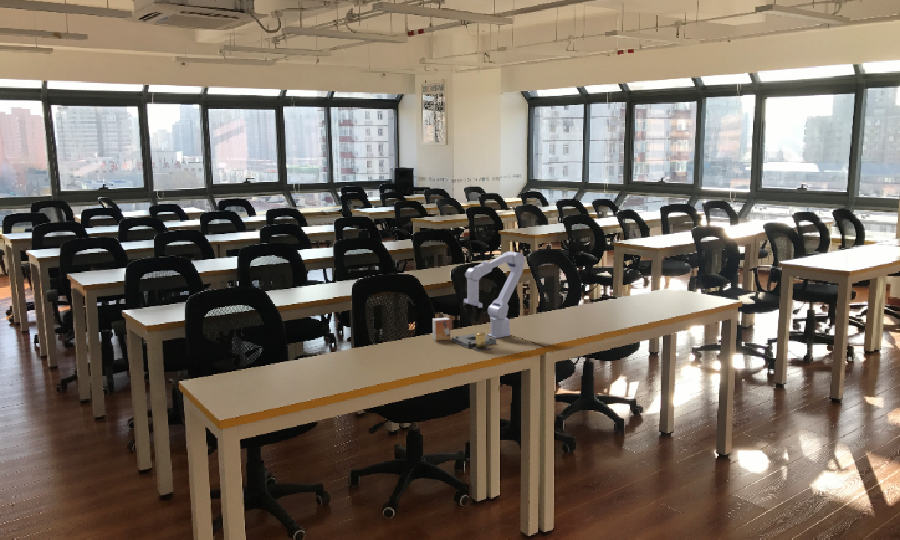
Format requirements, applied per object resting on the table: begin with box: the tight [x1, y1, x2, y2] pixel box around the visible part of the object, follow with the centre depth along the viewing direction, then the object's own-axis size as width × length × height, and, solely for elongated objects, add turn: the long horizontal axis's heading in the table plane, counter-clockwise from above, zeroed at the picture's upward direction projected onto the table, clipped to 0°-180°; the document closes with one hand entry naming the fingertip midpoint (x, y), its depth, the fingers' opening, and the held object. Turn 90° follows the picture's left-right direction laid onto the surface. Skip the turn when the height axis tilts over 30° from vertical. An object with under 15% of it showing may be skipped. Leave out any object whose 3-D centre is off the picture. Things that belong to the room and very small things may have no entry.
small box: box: [432, 316, 452, 342], centre depth 357 cm, size 8×6×10 cm
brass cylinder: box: [474, 332, 486, 349], centre depth 338 cm, size 5×5×7 cm
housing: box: [451, 333, 497, 349], centre depth 350 cm, size 16×16×2 cm
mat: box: [469, 345, 492, 352], centre depth 338 cm, size 7×7×1 cm
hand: (472, 319), depth 354 cm, fingers open, 7 cm apart
